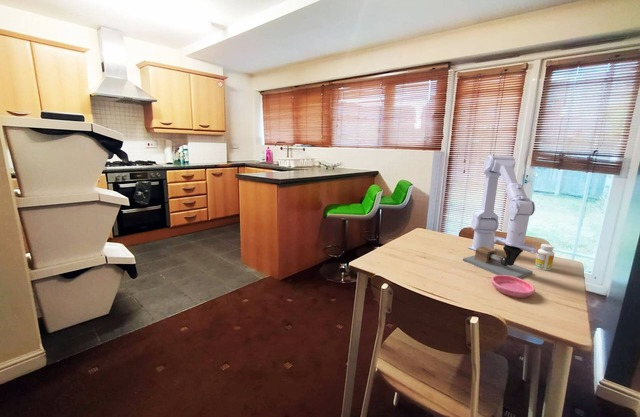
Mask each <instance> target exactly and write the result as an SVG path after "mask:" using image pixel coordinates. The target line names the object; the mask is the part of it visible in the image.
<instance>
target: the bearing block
mask: <svg viewBox="0 0 640 417" xmlns="http://www.w3.org/2000/svg"><path fill="white" fill-rule="evenodd" d="M490 253H492V254H494V255H497V249H496V250H495V248H494V249H493V248H490V247H487V246H483V247H479V248H476V250H475V252H474V255H475V259H476V260H479V261H481V262H484V263H489V262H493V261H495V260H492V259H490V258H489V255H490Z"/></svg>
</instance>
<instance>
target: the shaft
mask: <svg viewBox="0 0 640 417" xmlns="http://www.w3.org/2000/svg"><path fill="white" fill-rule="evenodd" d="M489 258H490V259H492V260H495V261H498V262H501V264H502V265H504V266H507V258H506V256H503V257H502V256H500V255H497V254H496V255H494V254H492V253H490V255H489Z"/></svg>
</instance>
